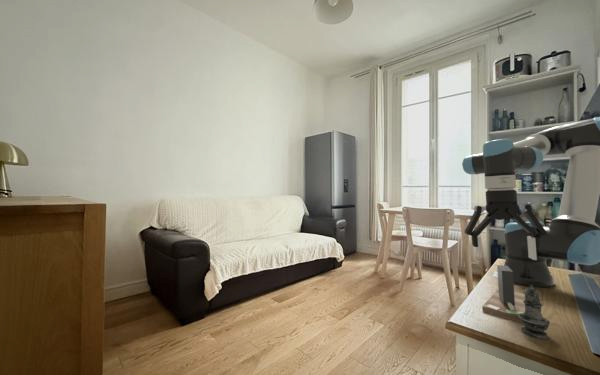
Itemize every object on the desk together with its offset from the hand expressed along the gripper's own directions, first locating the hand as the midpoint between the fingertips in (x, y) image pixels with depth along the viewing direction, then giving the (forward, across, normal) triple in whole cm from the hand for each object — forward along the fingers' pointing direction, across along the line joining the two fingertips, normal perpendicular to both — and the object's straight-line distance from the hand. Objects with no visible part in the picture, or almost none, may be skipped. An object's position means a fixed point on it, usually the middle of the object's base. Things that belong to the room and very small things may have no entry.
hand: (505, 258), depth 76 cm
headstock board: (+15, +1, +1) cm, 15 cm away
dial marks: (+13, -3, -6) cm, 15 cm away
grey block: (+13, -1, -2) cm, 13 cm away
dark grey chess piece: (+15, 0, -15) cm, 21 cm away
